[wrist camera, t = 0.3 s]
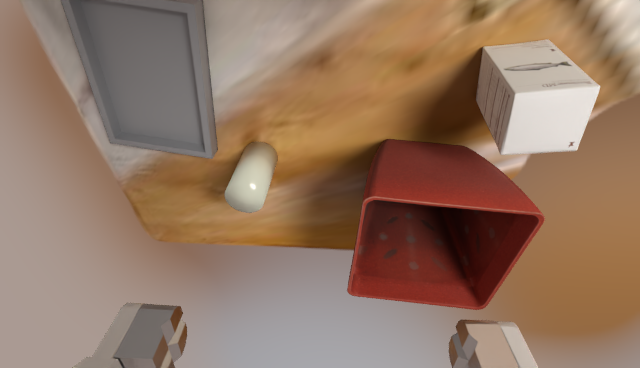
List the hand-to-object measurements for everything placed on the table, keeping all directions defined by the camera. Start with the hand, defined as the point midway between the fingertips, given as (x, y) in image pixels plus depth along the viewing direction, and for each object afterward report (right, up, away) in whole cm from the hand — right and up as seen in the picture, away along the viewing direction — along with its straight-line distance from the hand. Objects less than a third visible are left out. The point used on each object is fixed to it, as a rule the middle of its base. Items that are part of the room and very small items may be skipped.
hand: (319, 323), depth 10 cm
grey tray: (-23, +19, +38) cm, 49 cm away
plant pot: (+15, +6, +45) cm, 48 cm away
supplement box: (+23, +18, +33) cm, 44 cm away
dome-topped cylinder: (-9, +9, +45) cm, 47 cm away
